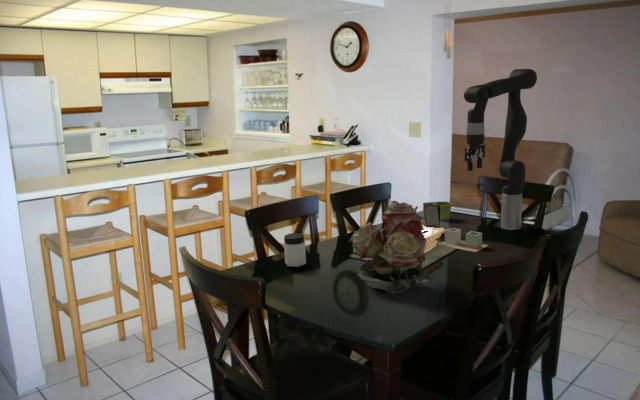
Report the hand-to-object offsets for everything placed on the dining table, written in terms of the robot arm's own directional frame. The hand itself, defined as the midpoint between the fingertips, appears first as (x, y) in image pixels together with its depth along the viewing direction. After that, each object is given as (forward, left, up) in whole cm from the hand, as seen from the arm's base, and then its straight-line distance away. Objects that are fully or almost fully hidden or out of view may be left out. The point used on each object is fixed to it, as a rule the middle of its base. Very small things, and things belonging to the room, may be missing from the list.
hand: (474, 169), depth 234 cm
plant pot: (-22, -29, -32) cm, 49 cm away
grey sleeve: (+15, -2, -31) cm, 34 cm away
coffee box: (+10, -16, -32) cm, 37 cm away
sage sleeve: (+15, +8, -31) cm, 35 cm away
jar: (+74, -41, -32) cm, 91 cm away
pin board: (+15, +3, -32) cm, 36 cm away
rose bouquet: (+65, +3, -32) cm, 72 cm away
